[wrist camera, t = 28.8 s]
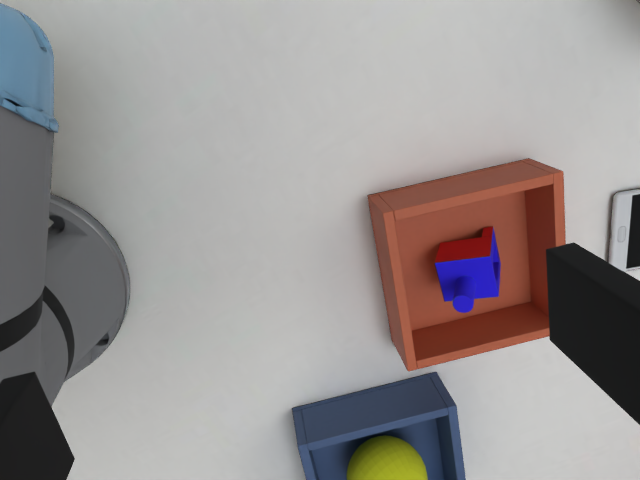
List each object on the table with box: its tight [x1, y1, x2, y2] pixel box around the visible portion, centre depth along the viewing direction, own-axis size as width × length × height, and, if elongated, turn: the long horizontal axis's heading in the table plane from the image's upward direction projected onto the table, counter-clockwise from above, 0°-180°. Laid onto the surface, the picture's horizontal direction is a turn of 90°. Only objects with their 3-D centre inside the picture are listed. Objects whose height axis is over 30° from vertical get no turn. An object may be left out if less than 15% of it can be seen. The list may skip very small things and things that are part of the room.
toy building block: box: [434, 226, 501, 313], centre depth 42 cm, size 4×4×8 cm
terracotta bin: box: [368, 158, 566, 371], centre depth 43 cm, size 14×14×5 cm
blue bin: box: [292, 372, 466, 480], centre depth 49 cm, size 14×14×5 cm
